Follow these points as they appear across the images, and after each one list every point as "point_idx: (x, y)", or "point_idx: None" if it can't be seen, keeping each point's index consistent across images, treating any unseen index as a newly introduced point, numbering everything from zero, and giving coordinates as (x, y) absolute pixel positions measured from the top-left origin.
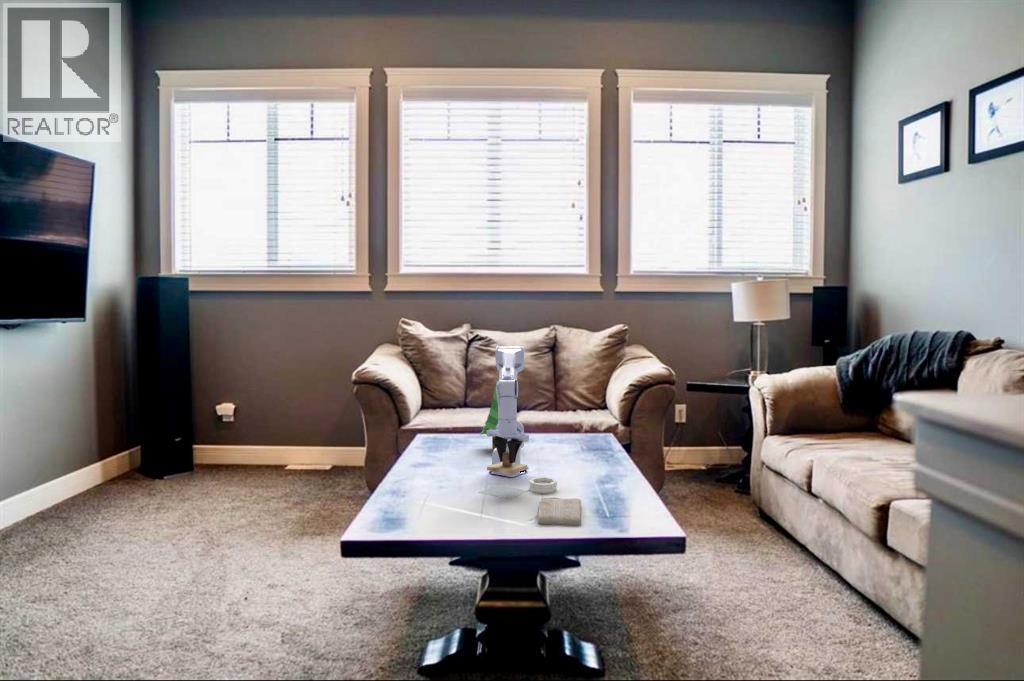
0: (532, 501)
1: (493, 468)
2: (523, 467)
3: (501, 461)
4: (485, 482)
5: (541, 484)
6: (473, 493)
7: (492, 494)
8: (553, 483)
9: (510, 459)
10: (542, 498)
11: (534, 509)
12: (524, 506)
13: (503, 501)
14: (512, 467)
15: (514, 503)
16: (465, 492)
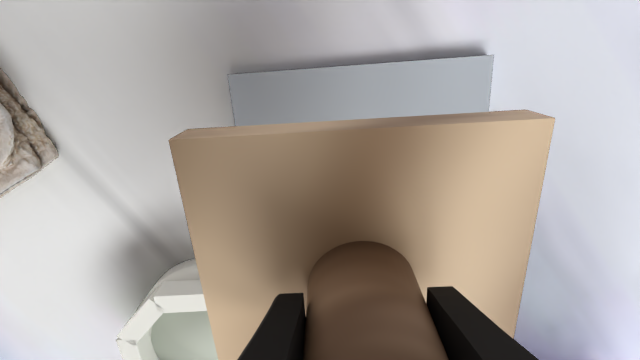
0: (133, 149)
1: (440, 120)
2: (219, 345)
3: (431, 287)
4: (567, 266)
5: (153, 303)
6: (528, 54)
7: (384, 80)
8: (120, 353)
9: (276, 322)
10: (4, 134)
11: (11, 31)
12: (96, 41)
13: (262, 40)
14: (264, 262)
15: (183, 51)
16: (590, 37)
